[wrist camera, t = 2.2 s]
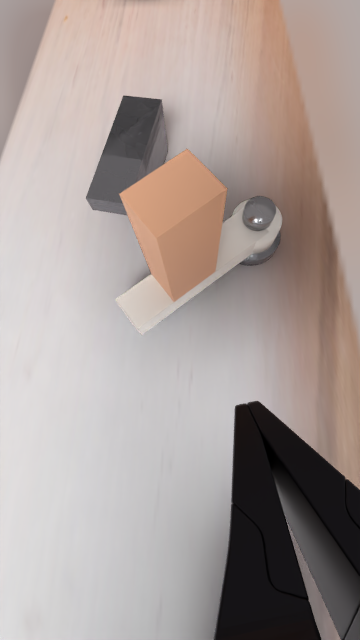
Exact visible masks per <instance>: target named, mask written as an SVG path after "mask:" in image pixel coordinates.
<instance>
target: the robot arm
mask: <svg viewBox="0 0 360 640" xmlns="http://www.w3.org/2000/svg"><path fill="white" fill-rule="evenodd" d="M231 503H232V504H231V519H230V533H229V543H228V551H227V559H226V566H225V572H224V578H223V585H222V591H221V597H220V604H219V610H218V616H217V623H216V629H215V634H214V640H321V637H320V634H319V631H318V628H317V625H316V622H315V619H314V615H313V612H312V609H311V605H310V602H309V601H308V595H307V591H306V588H305V584H304V581H303V577H302V574H301V571H300V567H299V564H298V560H297V557H296V553H295V550H294V546H293V543H292V539H291V536H290V532H289V529H288V525H287V522H286V519H287V521H288V523H289V525H290V527H291V530H292V532H293V534H294V536H295V539H296V541H297V543H298V545H299V547H300V550H301V552H302V554H303V556H304V558H305V561H306V563H307V565H308V567H309V570H310V572H311V574H312V576H313V578H314V581H315V583H316V585H317V587H318V589H319V592H320V594H321V596H322V598H323V601H324V603H325V605H326V607H327V609H328V612H329V614H330V616H331V618H332V620H333V623H334V625H335V627H336V629H337V631H338V634H339V636H340V638H341V640H360V490H359V489H358V488H357V487H356V486H355V485H354V484H352V483H351V482H350V481H349V480H348V479H346V480H345V477H344V476H343V475H342V474H341V473H340V472H339V471H338V470H336V469H335V468H334V467H333V466H332V465H331V464H330V463H328V462H327V461H326V460H325V459H324V458H323V457H322V456H320V455H319V454H318V453H317V452H316V451H315V450H314V449H313V448H311V447H310V446H309V445H308V444H307V443H306V442H305V441H303V440H302V439H301V438H300V437H299V436H298V435H297V434H295V433H294V432H293V431H292V430H291V429H290V428H289V427H287V426H286V425H285V424H284V423H283V422H282V421H281V420H280V419H278V418H277V417H276V416H275V415H274V414H273V413H272V412H270V411H269V410H268V409H267V408H266V407H265V406H264V405H262V404H261V403H260V402H259V401H254V402H249V403H247V404H240V405H236V406H235V419H234V445H233V471H232V497H231ZM284 514H285V515H284ZM285 516H286V519H285Z"/></svg>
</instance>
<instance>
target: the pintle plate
mask: <svg viewBox="0 0 360 640" xmlns="http://www.w3.org/2000/svg"><path fill="white" fill-rule="evenodd" d="M275 214H276V206H275V204H274V203H273V201H272V200H270V199H269V198H266V197H262V196H257V197H253V198H251V199H250V200H248V201H247V203H246V204H245V207H244V211H243V215H242V220H243V223H244V225H245V226H246V227H247V228H249V229H251V230H254V231H262V230H265V229H267V228H268V227H269V226H270V225H271V223H272V221H273V219H274V216H275ZM279 242H280V230H279V232H278V234H277V236H276V238H275V240H274V242H273V244H272V245H271V246H270V247H269V248H268V249H267V250H265V251H263V252H261V253H257V254H251V255H250V256H248V257H247V258H245V259H244V260H243V261H241V262H240V264H243V265H258V264H261V263H263V262H265V261H267V260H268V259H269V258H271V256H272V255H273V254H274V252H275V250H276V249H277V247H278V245H279Z"/></svg>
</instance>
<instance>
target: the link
mask: <svg viewBox="0 0 360 640" xmlns="http://www.w3.org/2000/svg"><path fill="white" fill-rule="evenodd" d="M119 195H120V197H121V200H122V202H123V205H124V207H125V210H126V212H127V215H128V217H129V219H130V222H131V224H132V227H133V229H134V232H135V234H136V237H137V239H138V242H139V244H140V247H141V249H142V252H143V254H144V257H145V259H146V262H147V264H148V267H149V269H150V272H151V274H150V275H149V276H147V277H146V278H145V279H143V280H142V281H140V282H139V283H138V284H136V285H135V286H133V287H132V288H131V289H129V290H128V291H126V292H125V293H124V294H122V295H121V296H119V297H118V298H117V299H115V301H116V302H117V304H118V305H119V306H120V308H121V309H122V310H123V312H124V313H125V315H126V316H127V317H128V319H129V320H130V321H131V323H132V324H133V326H134V327H135V328H136V330H137V331H138V332H139V333H140V334H141V335H143V334H144V333H145V332H147V331H148V330H150V329H151V328H152V327H154V326H155V325H156V324H158V323H159V322H160V321H162V320H163V319H164V318H166V317H167V316H168V315H170V314H171V313H173V312H174V311H175V310H177V309H178V308H179V307H181V306H182V305H183V304H185V303H186V302H187V301H189V300H190V299H191V298H193V297H194V296H195V295H197V294H198V293H200V292H201V291H202V290H204V289H205V288H206V287H208V286H209V285H210V284H212V283H213V282H214V281H216V280H217V279H218V278H220V277H221V276H223V275H224V274H225V273H227V272H228V271H229V270H231V269H232V268H233V267H235V266H236V265H237V264H239V263H240V262H241V261H243V260H244V259H245V258H247V257H248V256H250V255H251V254H257V253H261V252H263V251H265V250H267V249H268V248H269V247H270V246H271V245H272V244H273V242H274V240H275V238H276V236H277V234H278V232H279V230H280V228H281V225H282V215H281V213H280V211H279V209H278V208H277V207H276V214H275V216H274V219H273V221H272V223H271V225H270V226H269V227H268V228H267V229H265V230H262V231H254V230H251V229H249V228H247V227H246V226H245V225H244V223H243V220H242V215H243V211H244V207H245V204H246V203H247V201H248V200H250V199H248V200H245V201H243V202H242V203H240V204H239V205H238V206H237V207H236V208H235V210H234V212H233V214H232V216H231V217H230V218H229V219H227V220H226V221H224V222H223V216H224V209H225V202H226V195H227V188H226V187H225V186H224V185H223V184H222V183H221V182H220V181H219V180H218V179H217V178H216V177H215V176H214V175H213V174H212V173H211V172H210V171H209V170H208V169H207V168H206V167H205V166H204V165H203V164H202V163H201V162H200V161H199V160H198V159H197V158H196V157H195V156H194V155H193V154H192V153H191V152H190V151H189V150H188V149H186V150H185V151H183V152H182V153H180V154H179V155H177V156H176V157H174V158H173V159H171V160H170V161H168V162H167V163H165V164H164V165H162V166H161V167H159V168H158V169H156V170H155V171H153V172H152V173H150V174H149V175H147V176H146V177H144V178H143V179H141V180H140V181H138V182H137V183H135V184H134V185H132V186H130V187H129V188H127V189H126V190H124V191H123V192H121V193H120V194H119ZM222 222H223V223H222Z"/></svg>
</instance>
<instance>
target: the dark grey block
mask: <svg viewBox="0 0 360 640" xmlns="http://www.w3.org/2000/svg"><path fill="white" fill-rule="evenodd" d="M167 152H168V146H167V138H166V130H165V122H164V114H163V106H162V100H160V99H151V98H141V97H132V96H123V98H122V101H121V104H120V107H119V109H118V112H117V115H116V117H115V120H114V123H113V126H112V128H111V131H110V134H109V137H108V139H107V142H106V145H105V147H104V150H103V153H102V156H101V158H100V161H99V164H98V166H97V169H96V172H95V175H94V177H93V180H92V183H91V186H90V188H89V191H88V194H87V196H86V199H87V201H88V202H89V204H90V206H91V208H92V209H93V210H98V211H104V212H110V213H116V214H123V215H127V212H126V210H125V207H124V205H123V202H122V200H121V197H120V195H119V194H120V193H121V192H123V191H124V190H126V189H127V188H129V187H130V186H132V185H134V184H135V183H137V182H138V181H140V180H141V179H143V178H144V177H146V176H147V175H149V174H150V173H152V172H153V171H155V170H156V169H158V168H159V167H161V166H162V165H164V162H165V158H166V155H167Z"/></svg>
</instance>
